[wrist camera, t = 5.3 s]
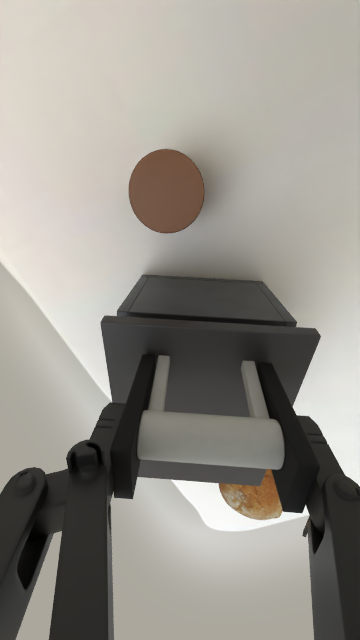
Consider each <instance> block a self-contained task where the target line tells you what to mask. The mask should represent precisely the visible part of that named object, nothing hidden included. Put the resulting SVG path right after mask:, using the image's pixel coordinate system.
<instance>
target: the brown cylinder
mask: <svg viewBox="0 0 360 640" xmlns="http://www.w3.org/2000/svg"><path fill="white" fill-rule="evenodd" d="M129 199H130V203H131V206H132V209H133V211H134V213H135V214H136V216H137V218H138V219H139V220H140V221H141V222H142V223H143V224H144V225H145V226H147V227H148V228H150V229H152V230H154V231H156V232H160V233H175V232H178V231H181V230H183V229H185V228H186V227H188V226H189V225H190V224H191V223H192V222H193V221H194V220H195V219H196V217H197V216H198V214H199V212H200V210H201V208H202V204H203V200H204V184H203V180H202V177H201V174H200V172H199V170H198V168H197V167H196V165H195V164H194V163H193V162H192V160H191V159H189V158H188V157H187V156H186V155H184V154H182V153H180V152H178V151H175V150H169V149H161V150H156V151H154V152H151V153H149V154H148V155H146V156H145V157H143V158H142V159H141V160H140V161H139V162H138V164H137V165H136V167H135V168H134V170H133V172H132V175H131V178H130V182H129Z"/></svg>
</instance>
